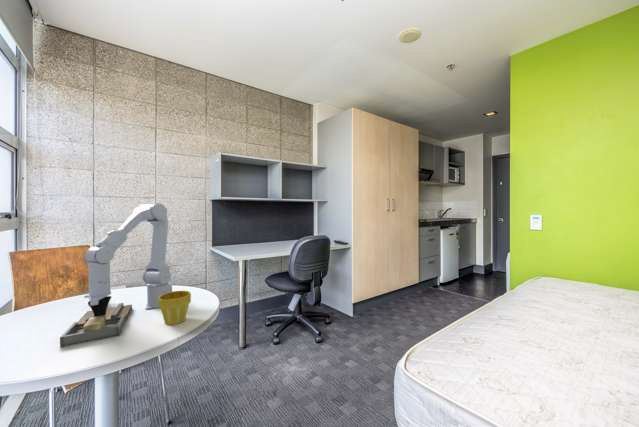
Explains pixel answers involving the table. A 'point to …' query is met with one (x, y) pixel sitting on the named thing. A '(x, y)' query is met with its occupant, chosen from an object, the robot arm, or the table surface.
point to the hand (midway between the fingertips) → (100, 319)
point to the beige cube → (93, 325)
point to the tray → (91, 333)
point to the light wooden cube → (99, 319)
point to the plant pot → (174, 306)
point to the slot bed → (108, 314)
